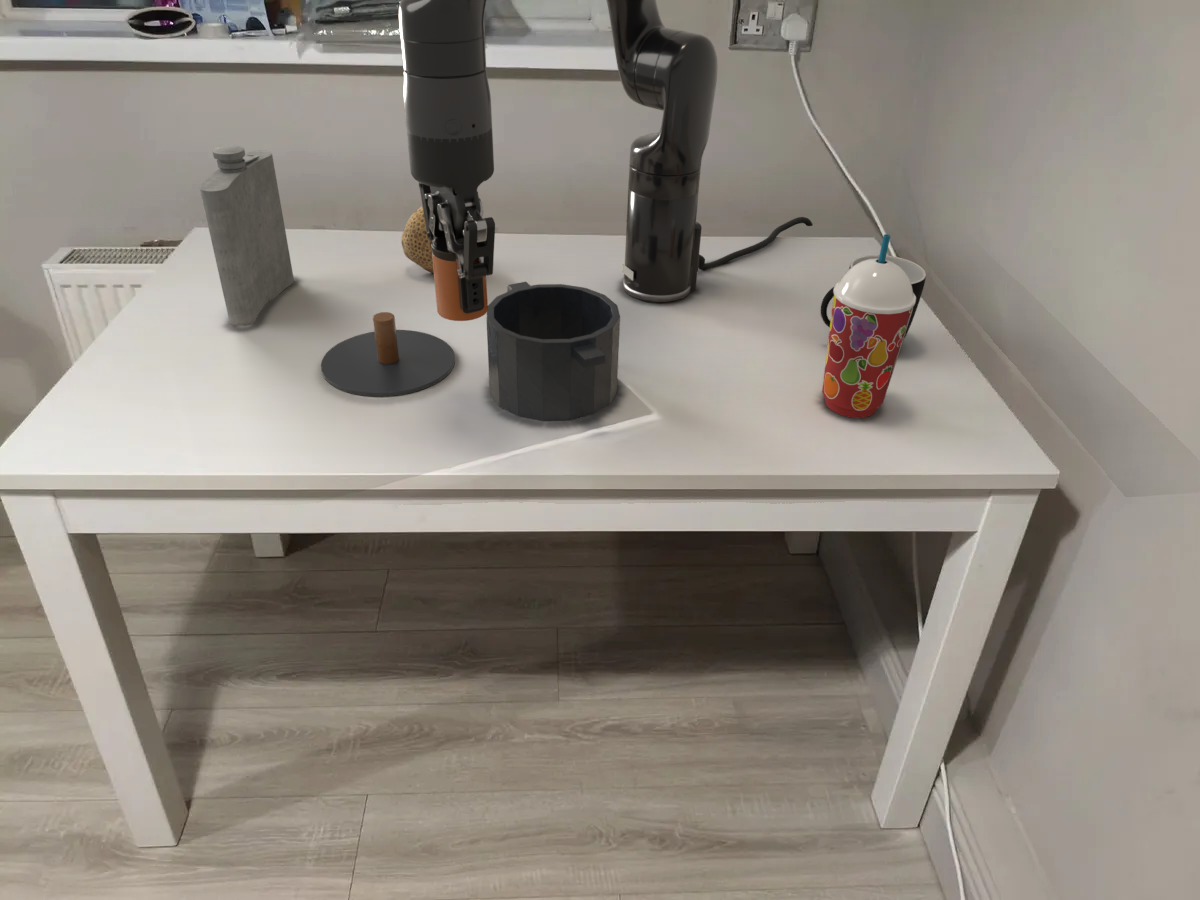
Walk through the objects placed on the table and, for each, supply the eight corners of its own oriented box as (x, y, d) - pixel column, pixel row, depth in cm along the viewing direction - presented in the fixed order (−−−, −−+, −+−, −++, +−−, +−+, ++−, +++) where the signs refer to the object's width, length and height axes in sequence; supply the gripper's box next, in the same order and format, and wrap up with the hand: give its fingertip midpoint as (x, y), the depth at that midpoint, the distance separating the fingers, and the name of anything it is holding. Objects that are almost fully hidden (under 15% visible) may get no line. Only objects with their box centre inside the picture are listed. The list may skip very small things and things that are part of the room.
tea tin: (476, 295, 94) (472, 229, 90) (495, 315, 90) (492, 247, 86) (430, 304, 92) (423, 238, 88) (447, 325, 88) (441, 257, 84)
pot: (570, 342, 114) (571, 267, 108) (650, 419, 99) (656, 337, 94) (463, 365, 108) (458, 287, 102) (531, 450, 94) (530, 365, 88)
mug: (891, 326, 120) (908, 253, 114) (919, 359, 112) (939, 283, 107) (803, 329, 118) (815, 256, 113) (826, 363, 111) (841, 286, 105)
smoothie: (891, 394, 105) (932, 227, 94) (885, 431, 99) (928, 256, 87) (818, 381, 107) (849, 216, 96) (808, 416, 101) (840, 243, 90)
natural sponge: (472, 285, 127) (468, 215, 121) (407, 290, 125) (400, 219, 119) (465, 260, 134) (461, 193, 128) (403, 264, 132) (396, 196, 126)
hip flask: (250, 330, 114) (217, 170, 102) (219, 328, 114) (182, 167, 103) (297, 278, 127) (272, 131, 115) (269, 276, 127) (241, 129, 116)
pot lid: (430, 328, 116) (425, 279, 112) (474, 383, 105) (471, 331, 101) (308, 352, 109) (299, 302, 106) (342, 413, 98) (333, 359, 95)
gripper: (521, 139, 77) (526, 321, 87) (460, 99, 87) (471, 265, 97) (436, 151, 74) (451, 338, 84) (383, 107, 84) (402, 278, 94)
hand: (461, 298), depth 90 cm, fingers closed on tea tin, 5 cm apart
